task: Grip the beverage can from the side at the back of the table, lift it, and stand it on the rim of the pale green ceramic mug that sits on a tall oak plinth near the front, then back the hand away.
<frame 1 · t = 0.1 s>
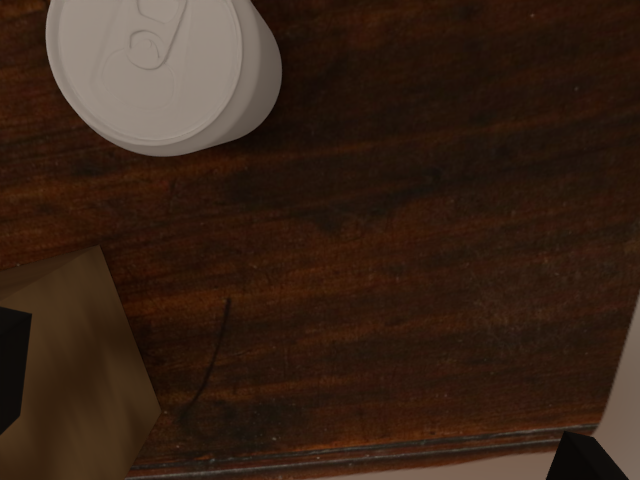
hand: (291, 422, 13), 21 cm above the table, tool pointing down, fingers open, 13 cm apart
beverage can: (213, 71, 31), on the table
plinth: (46, 352, 35), on the table
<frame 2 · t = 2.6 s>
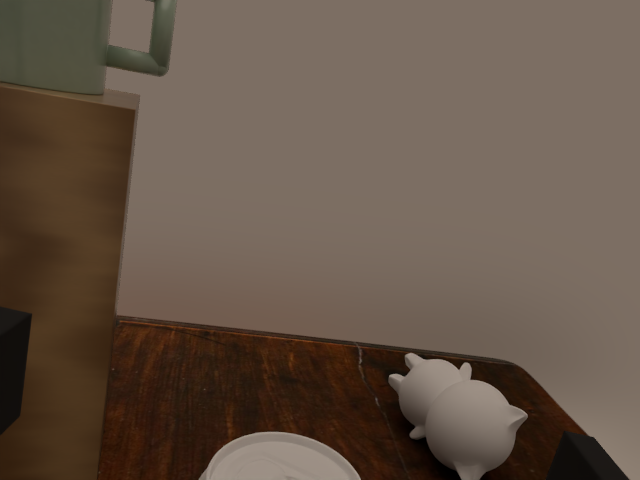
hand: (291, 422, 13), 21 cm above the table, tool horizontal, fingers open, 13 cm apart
cat figurine: (448, 449, 49), on the table
plinth: (4, 470, 37), on the table
mug: (25, 80, 30), resting on plinth
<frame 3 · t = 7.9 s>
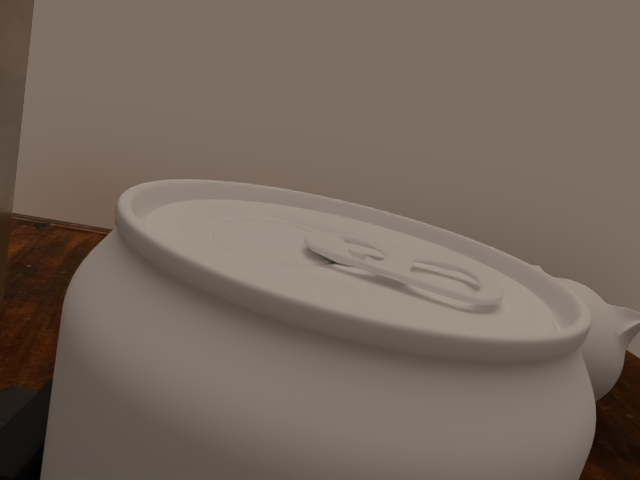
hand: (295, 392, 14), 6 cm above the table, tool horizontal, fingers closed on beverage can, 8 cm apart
cat figurine: (511, 386, 35), on the table
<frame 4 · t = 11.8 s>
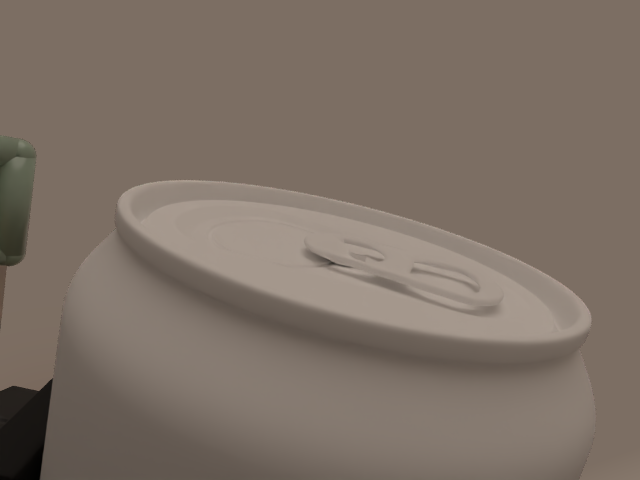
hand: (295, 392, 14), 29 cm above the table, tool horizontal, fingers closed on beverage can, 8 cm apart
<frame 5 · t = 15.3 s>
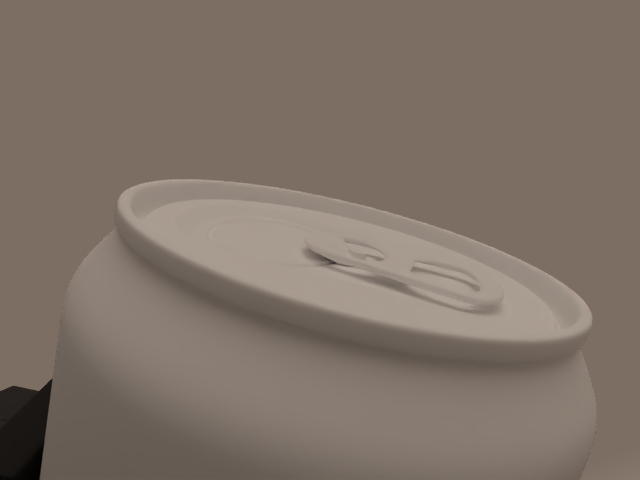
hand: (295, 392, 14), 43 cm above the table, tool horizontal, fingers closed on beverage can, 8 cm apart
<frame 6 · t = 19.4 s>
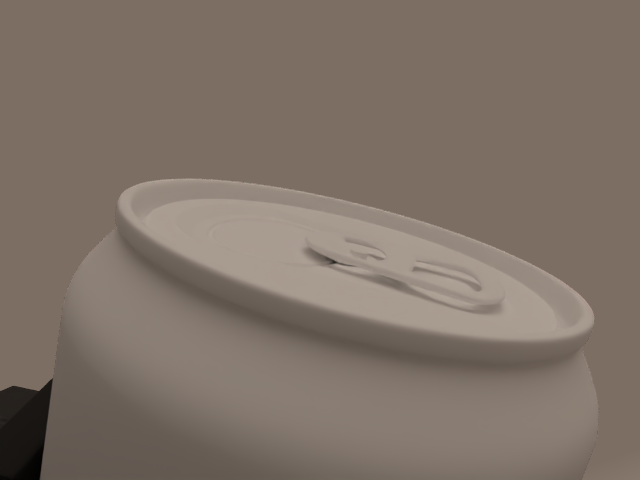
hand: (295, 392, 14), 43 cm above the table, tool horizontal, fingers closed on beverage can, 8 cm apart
when the fingers open (40 cm above the table, at t = 22.7 s): beverage can stays where it is, resting on mug.
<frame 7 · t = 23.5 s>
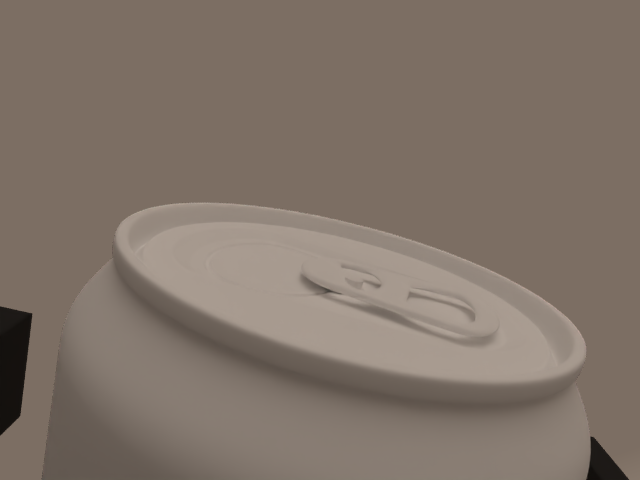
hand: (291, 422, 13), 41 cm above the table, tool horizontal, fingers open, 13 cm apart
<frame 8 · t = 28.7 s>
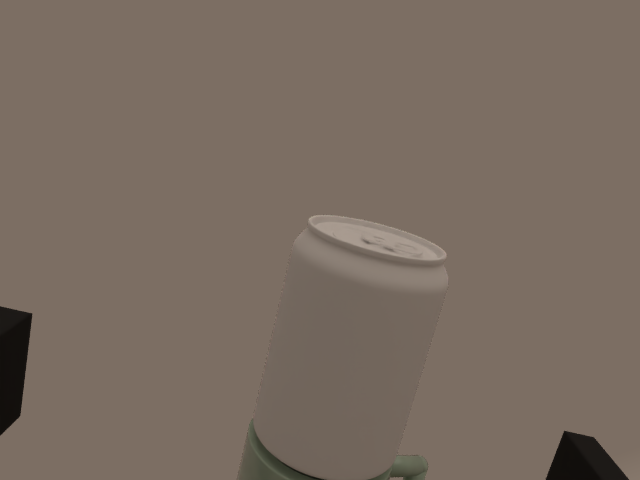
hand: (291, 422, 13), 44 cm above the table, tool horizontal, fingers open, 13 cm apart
beverage can: (321, 443, 30), point 34 cm above the table, touching mug
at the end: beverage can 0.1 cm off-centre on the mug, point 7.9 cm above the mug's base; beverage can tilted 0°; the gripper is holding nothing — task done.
